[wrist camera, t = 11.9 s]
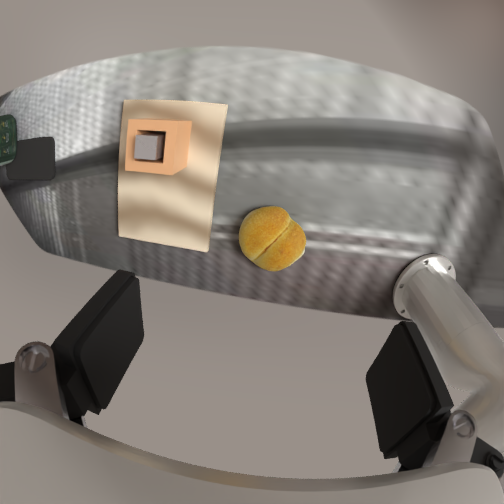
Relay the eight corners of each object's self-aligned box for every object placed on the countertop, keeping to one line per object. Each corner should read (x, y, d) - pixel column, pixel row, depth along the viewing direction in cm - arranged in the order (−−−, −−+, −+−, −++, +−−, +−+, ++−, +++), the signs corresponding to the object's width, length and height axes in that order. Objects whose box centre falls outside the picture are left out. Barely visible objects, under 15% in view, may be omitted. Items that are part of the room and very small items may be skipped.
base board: (208, 249, 40) (207, 252, 39) (121, 233, 39) (118, 236, 39) (228, 105, 31) (226, 104, 30) (127, 100, 30) (124, 99, 30)
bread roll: (269, 192, 36) (268, 201, 32) (313, 238, 38) (318, 251, 35) (225, 233, 39) (221, 245, 35) (270, 273, 41) (270, 289, 38)
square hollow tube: (186, 166, 34) (172, 175, 29) (144, 162, 33) (125, 170, 29) (192, 120, 31) (178, 121, 26) (148, 118, 31) (128, 119, 26)
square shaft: (175, 152, 33) (155, 160, 27) (156, 150, 33) (134, 158, 27) (177, 132, 32) (157, 136, 26) (158, 131, 32) (135, 135, 26)
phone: (5, 142, 32) (52, 136, 32) (8, 141, 33) (56, 135, 33) (7, 179, 36) (53, 180, 35) (9, 178, 36) (56, 179, 36)
